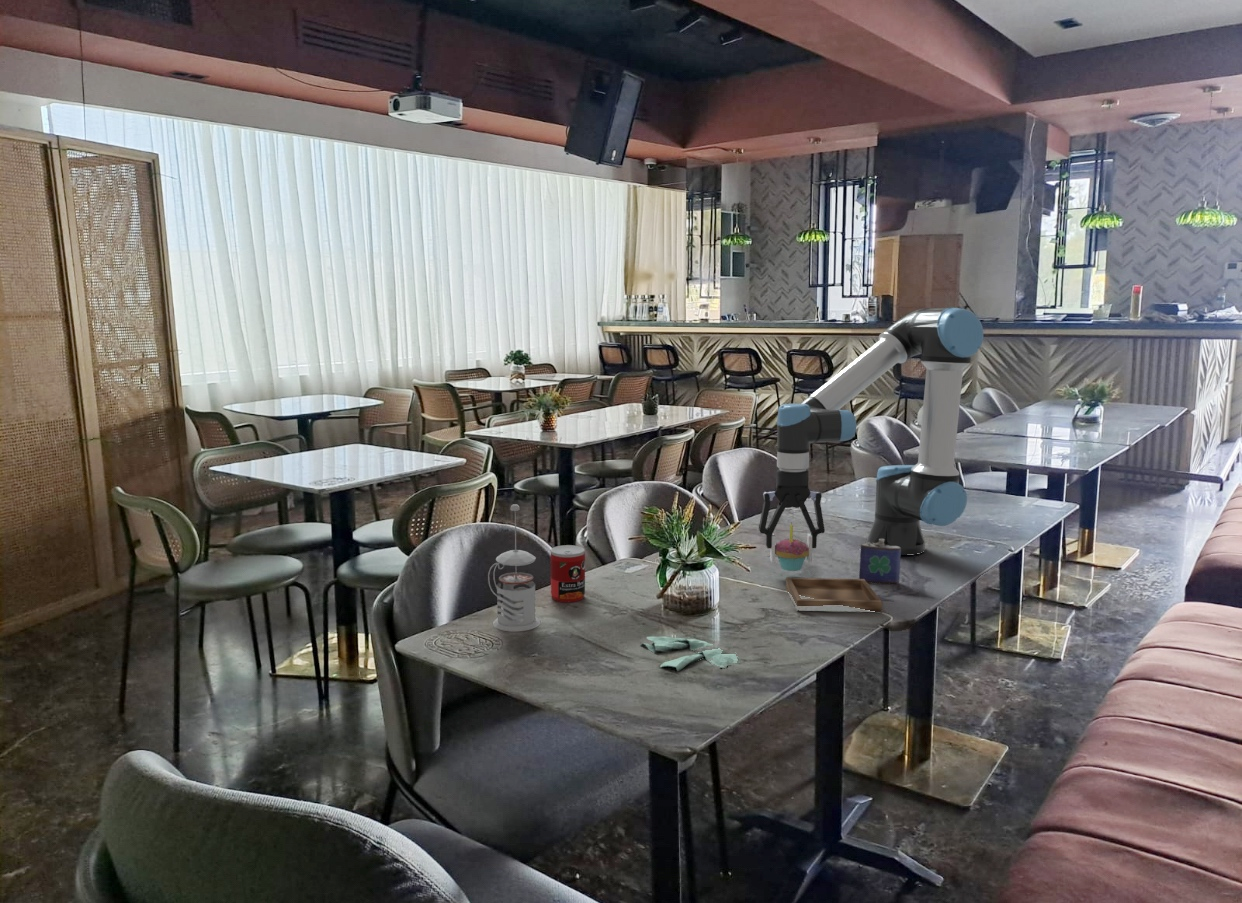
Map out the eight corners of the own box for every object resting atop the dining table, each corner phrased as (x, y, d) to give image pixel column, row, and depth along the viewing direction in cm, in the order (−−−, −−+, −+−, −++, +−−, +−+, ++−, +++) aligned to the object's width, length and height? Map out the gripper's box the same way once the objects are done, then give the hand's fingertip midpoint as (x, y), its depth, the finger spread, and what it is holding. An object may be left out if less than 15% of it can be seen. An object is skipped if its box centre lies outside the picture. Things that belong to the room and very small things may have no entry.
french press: (520, 635, 172) (518, 511, 168) (475, 623, 178) (473, 504, 174) (550, 620, 181) (549, 502, 177) (506, 610, 187) (504, 496, 183)
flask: (899, 582, 208) (901, 538, 206) (899, 585, 205) (901, 541, 203) (858, 578, 210) (860, 535, 208) (858, 582, 207) (860, 538, 206)
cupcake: (808, 574, 206) (810, 525, 204) (772, 572, 208) (773, 523, 206) (808, 563, 214) (809, 516, 212) (773, 562, 216) (774, 515, 214)
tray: (863, 589, 202) (864, 579, 201) (881, 613, 186) (882, 601, 186) (785, 588, 202) (786, 577, 202) (796, 611, 187) (797, 600, 186)
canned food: (559, 604, 190) (559, 556, 188) (545, 594, 197) (544, 547, 195) (591, 599, 194) (591, 551, 192) (576, 589, 201) (575, 543, 199)
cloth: (756, 670, 157) (757, 657, 157) (644, 687, 150) (645, 674, 150) (707, 632, 176) (707, 620, 176) (605, 645, 169) (605, 633, 168)
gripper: (833, 465, 210) (831, 556, 214) (746, 466, 211) (745, 556, 215) (840, 471, 203) (837, 565, 207) (750, 472, 204) (749, 565, 208)
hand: (790, 560), depth 211 cm, fingers closed on cupcake, 8 cm apart
